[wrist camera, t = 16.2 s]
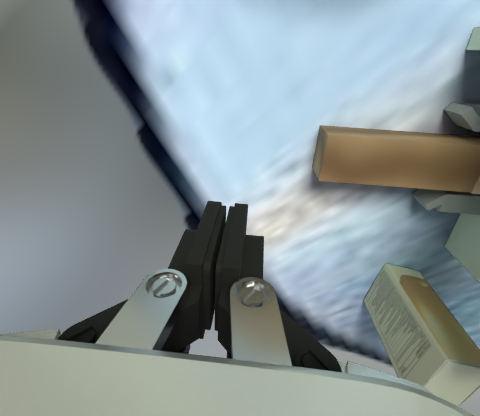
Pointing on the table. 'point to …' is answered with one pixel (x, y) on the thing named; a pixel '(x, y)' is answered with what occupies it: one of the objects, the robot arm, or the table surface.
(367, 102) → the table surface
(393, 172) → the walnut batten
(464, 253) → the shelter
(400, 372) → the skincare box
